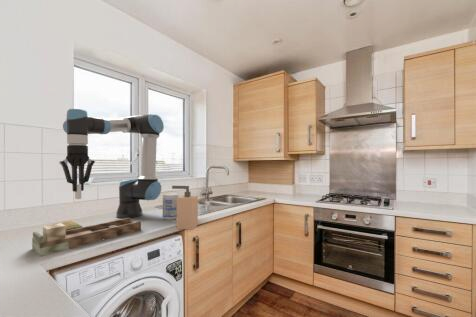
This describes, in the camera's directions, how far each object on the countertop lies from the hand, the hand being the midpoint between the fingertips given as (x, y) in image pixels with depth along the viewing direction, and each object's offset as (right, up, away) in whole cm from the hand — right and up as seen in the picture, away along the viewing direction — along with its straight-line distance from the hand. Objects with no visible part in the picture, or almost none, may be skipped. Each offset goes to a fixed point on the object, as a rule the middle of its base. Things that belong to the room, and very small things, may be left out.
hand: (78, 198), depth 101 cm
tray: (+4, -19, +5) cm, 20 cm away
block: (-5, -16, -7) cm, 18 cm away
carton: (-14, -20, +13) cm, 27 cm away
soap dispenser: (+41, -19, +22) cm, 51 cm away
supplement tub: (+29, -19, +41) cm, 53 cm away
